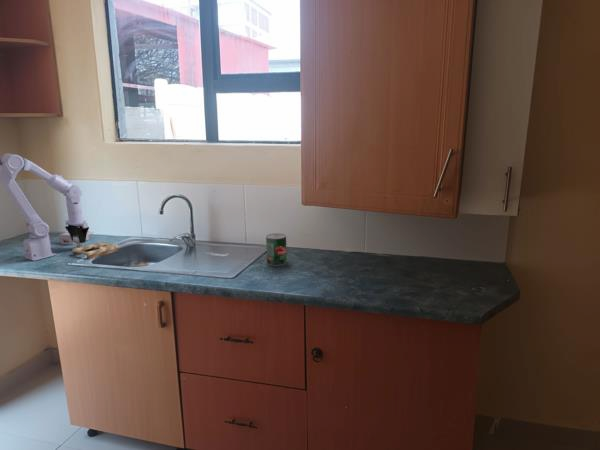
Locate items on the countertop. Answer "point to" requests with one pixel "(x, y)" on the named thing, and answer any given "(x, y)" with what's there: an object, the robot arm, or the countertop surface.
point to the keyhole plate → (96, 250)
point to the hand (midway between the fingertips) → (79, 241)
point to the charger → (66, 238)
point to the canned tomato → (276, 249)
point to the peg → (76, 240)
